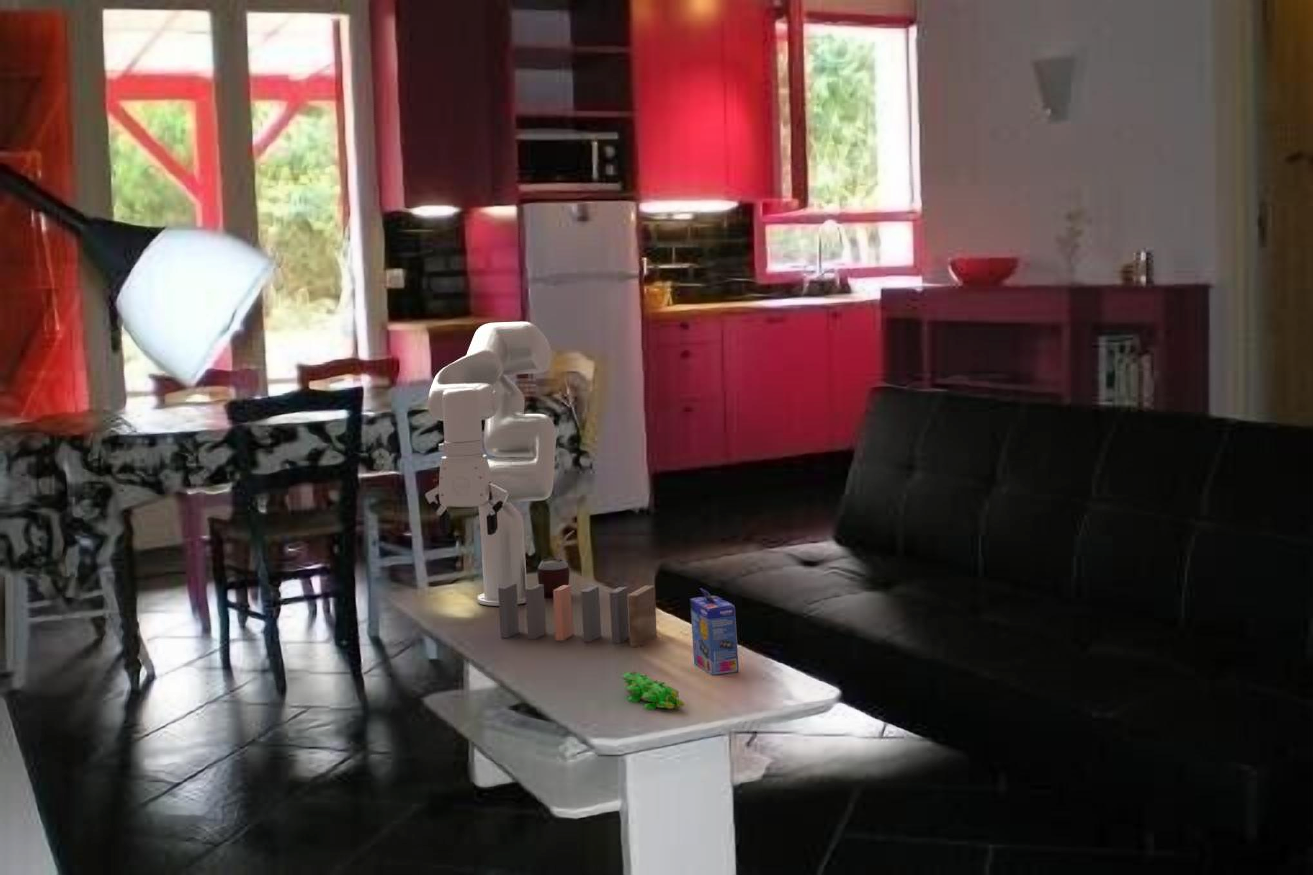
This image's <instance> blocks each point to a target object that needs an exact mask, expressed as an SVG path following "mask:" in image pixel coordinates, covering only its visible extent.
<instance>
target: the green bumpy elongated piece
mask: <svg viewBox="0 0 1313 875" xmlns="http://www.w3.org/2000/svg"><path fill="white" fill-rule="evenodd" d="M621 678H622V679H623V680H624V684H626V688H625V690H624V691H625V692H626V693H629V694H632V695H631V696H629V697H628V699H627V700H628V701H629V702H635V703H636V702H637V703H638V702H639V701H640V700H643V701H647V702H649V703H646V704H645V705H644V708H645V709H647V710H648V709H649V710H655V709H656V708H663V709H664V708H667V709H673V708H675V707H676V706H678V707H683V706H684V701H682V699H679V698H680V697H679V693H680V692H679V690H677V689H676V688H674V687H673V686H670V685H669V684H665V682H664V681H660V682H659V681H658V680H653V679H650V678H648V676H647V674H644V673H643V674H641V673H638V672H637V671H636V670H633V669H632V670H630V671H627V672H625V673H623V674H622V675H621Z"/></svg>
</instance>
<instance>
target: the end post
mask: <svg viewBox="0 0 1313 875" xmlns="http://www.w3.org/2000/svg"><path fill="white" fill-rule="evenodd" d="M655 589H656V588H655V585H644V586H642V587H640V588H638V589H636V590H634V591H633V592H631V593H629V594H627V599H628V619H629V644H630V646H629V647H630V648H631V647H632V648H633V647H634V648H635V647H636V648H641V647H642V646H644V645H646V644H647V643H649V641H651V640H653V639H655V638H656V637H657V636H658V635H657V634H658V630H657V612H656V611H657V610H656V609H657V608H656V590H655ZM655 636H656V637H655Z"/></svg>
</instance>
